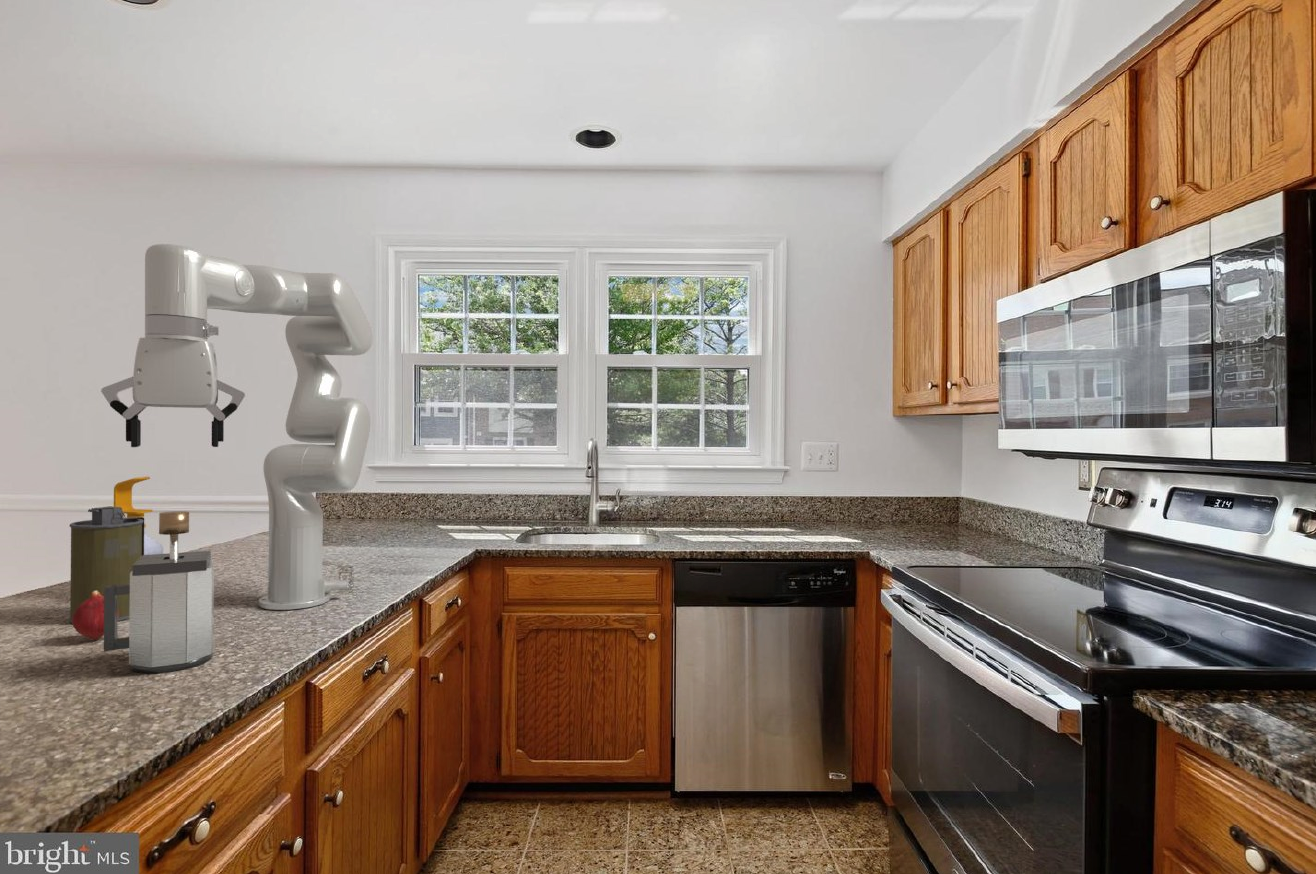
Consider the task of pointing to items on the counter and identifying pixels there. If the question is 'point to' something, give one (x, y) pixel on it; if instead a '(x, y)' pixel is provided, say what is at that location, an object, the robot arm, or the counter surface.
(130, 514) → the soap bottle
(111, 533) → the canister
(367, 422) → the robot arm
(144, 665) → the french press
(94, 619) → the onion
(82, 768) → the counter surface
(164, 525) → the plunger
